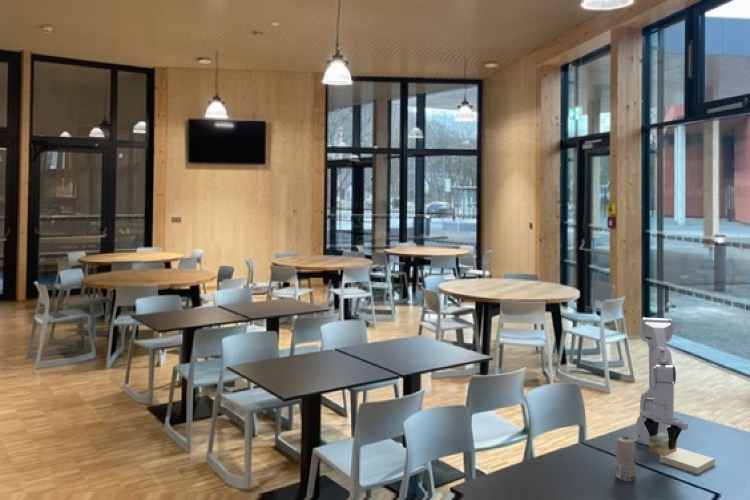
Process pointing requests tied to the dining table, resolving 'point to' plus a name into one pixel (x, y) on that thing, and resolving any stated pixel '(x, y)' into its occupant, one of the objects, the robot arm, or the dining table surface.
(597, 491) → the dining table surface
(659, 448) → the sage green block
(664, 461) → the white stand
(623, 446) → the energy drink
